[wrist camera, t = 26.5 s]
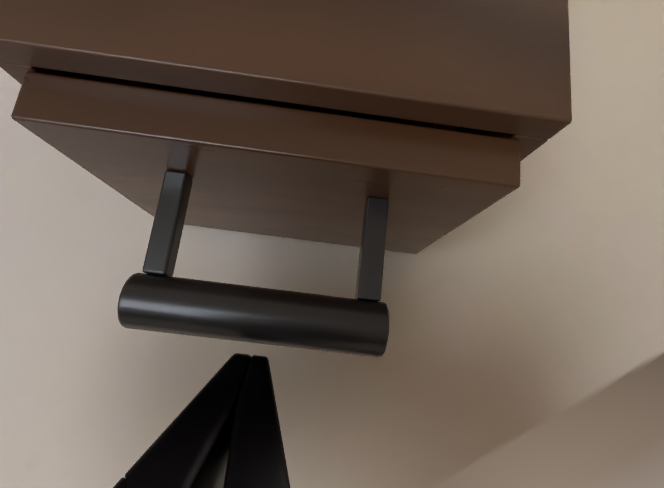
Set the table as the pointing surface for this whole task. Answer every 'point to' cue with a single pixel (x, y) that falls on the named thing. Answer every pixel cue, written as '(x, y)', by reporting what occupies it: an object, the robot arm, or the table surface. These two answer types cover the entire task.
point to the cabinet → (319, 54)
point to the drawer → (267, 196)
